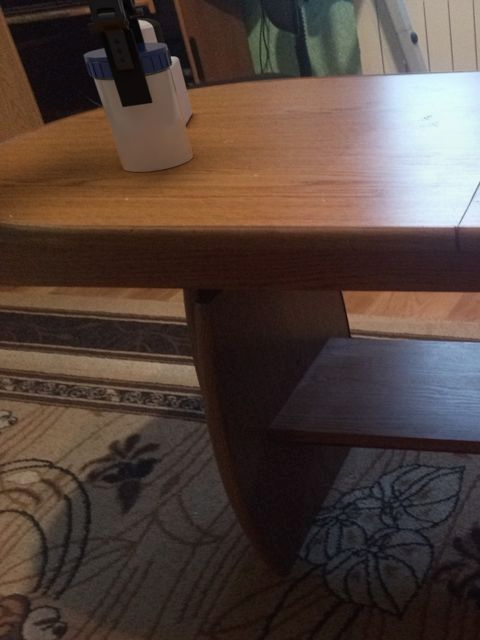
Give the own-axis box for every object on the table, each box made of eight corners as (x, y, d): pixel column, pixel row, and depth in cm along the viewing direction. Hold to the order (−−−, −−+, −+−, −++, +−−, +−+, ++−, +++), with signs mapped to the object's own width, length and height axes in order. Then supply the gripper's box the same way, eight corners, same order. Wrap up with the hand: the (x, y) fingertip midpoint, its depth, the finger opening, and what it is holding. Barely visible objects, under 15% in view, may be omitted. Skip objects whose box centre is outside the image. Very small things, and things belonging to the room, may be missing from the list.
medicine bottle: (136, 120, 94) (106, 19, 88) (193, 114, 95) (167, 13, 89) (125, 134, 88) (91, 27, 82) (185, 127, 89) (157, 20, 83)
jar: (107, 172, 75) (71, 63, 70) (147, 151, 81) (117, 49, 76) (170, 172, 74) (138, 61, 68) (205, 150, 80) (179, 47, 74)
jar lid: (72, 79, 70) (65, 58, 69) (120, 63, 77) (114, 44, 76) (144, 77, 69) (138, 56, 68) (187, 61, 75) (182, 41, 74)
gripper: (92, -199, 54) (177, 111, 66) (116, -168, 72) (179, 71, 84) (-19, -194, 52) (88, 124, 64) (33, -163, 70) (110, 80, 82)
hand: (140, 94), depth 74 cm, fingers open, 9 cm apart
